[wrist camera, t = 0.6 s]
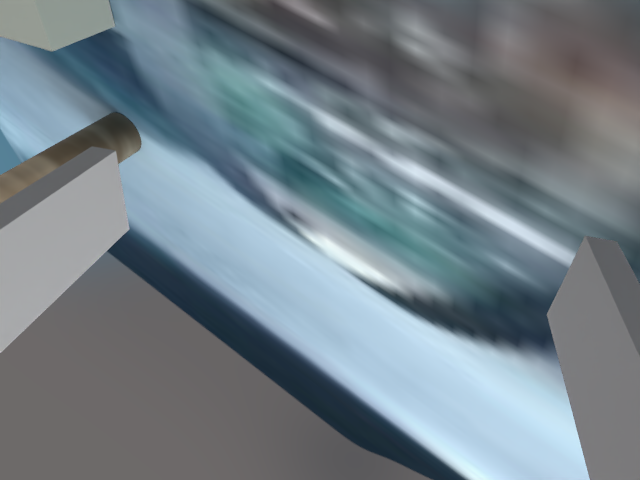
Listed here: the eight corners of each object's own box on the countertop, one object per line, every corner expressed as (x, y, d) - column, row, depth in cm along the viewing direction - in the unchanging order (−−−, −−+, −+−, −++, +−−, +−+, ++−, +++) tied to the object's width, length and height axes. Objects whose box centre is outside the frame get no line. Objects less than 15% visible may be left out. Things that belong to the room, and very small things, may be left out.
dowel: (102, 107, 37) (-80, 206, 28) (135, 118, 36) (-42, 224, 27) (113, 145, 39) (-51, 248, 30) (145, 157, 38) (-15, 266, 29)
